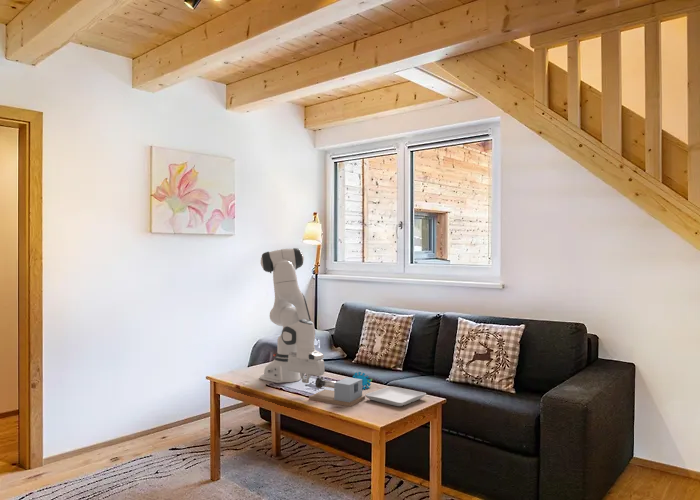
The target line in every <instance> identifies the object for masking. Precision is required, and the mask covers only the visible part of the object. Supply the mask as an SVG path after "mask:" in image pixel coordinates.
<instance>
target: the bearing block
mask: <svg viewBox="0 0 700 500" xmlns="http://www.w3.org/2000/svg"><path fill="white" fill-rule="evenodd" d="M334 382H335V383H334V388H333V389H334V390H330V389H323V390H321V391H317V392H316V393H313V394H311V395H309V396H308V400H309V401H317V402H321V403H326V404H333V405H338V406H345V407H353V406H354V405H357V404H358V403H361V402H363V401H364V400H366V396H365V395H363V389H362V388H363V386H362V379H357V377H356V378H353V377H349V376H347V377H345V378H343V379H340V380H337V381H334Z"/></svg>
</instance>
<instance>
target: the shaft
mask: <svg viewBox="0 0 700 500" xmlns="http://www.w3.org/2000/svg"><path fill="white" fill-rule="evenodd" d="M314 382H315V387H316V388H317V389H322V388H331V389H334V383H335V382H336V381H334V380H333V381H332V380H325V379H324V378H323V377H322V376H321V377H320V376H317V378H316V379H315V381H314Z"/></svg>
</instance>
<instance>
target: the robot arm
mask: <svg viewBox="0 0 700 500" xmlns="http://www.w3.org/2000/svg"><path fill="white" fill-rule="evenodd" d="M304 260H305V256H304V253H303V251H302V250H301V249H300V248H297V247H293V248H282V249H277V250H271V251H265V252H263V253H262V255H261V257H260V265H261V267H262V270H263V271H265V272H266V273H269V274H272V278H273V279H272V281H273V288H274V289H273V290H274V292H273V293H274V302H273V307H272V308H271V310H270V311H269V319H270V322H272V323H273V324H275V325H276V326H280V327H282V330H281V334H280V335H279V336H278V338H277V345H276V346H277V351H276V353H274V354H272V355H273V357H274V360H272V361H271V362H270V363H268V364H267V365H266V366H265V368H264V371H263V374H261V375H260V376H259V379H260V380H263V381H268V382H272V383H276V384H281V383H293V382H299V381H300V380H301V382H302V383H304V384H309V383H310V378H311V376H317V377H320V376H321V377H322V376H323V375H324V374H325V368H326V367H325V361H324V357H325V356H324V354H323V353H322V352H320V351H318V350H317V349H316V346H315V341H316V329H315V328H316V327H315V324H314V322H313V321H312V319H311V315H310V311H309V308H308V304H307V300H306V298H305V295H304V293H303V292H301V289H300V287H299V284H298V277H297V273H296V271H297V270H298V269H300V268H301V267H302V266H303V265H304ZM305 376H306V377H305Z"/></svg>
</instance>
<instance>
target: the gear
mask: <svg viewBox="0 0 700 500" xmlns="http://www.w3.org/2000/svg"><path fill="white" fill-rule="evenodd" d="M352 378H357V379H362V391H363V390H368V389H369V388H370V386H371V385H372V381H373V378H370V379H369V375H366V373H365V372H361V371H358V372H354V374H353V376H352Z"/></svg>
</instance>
